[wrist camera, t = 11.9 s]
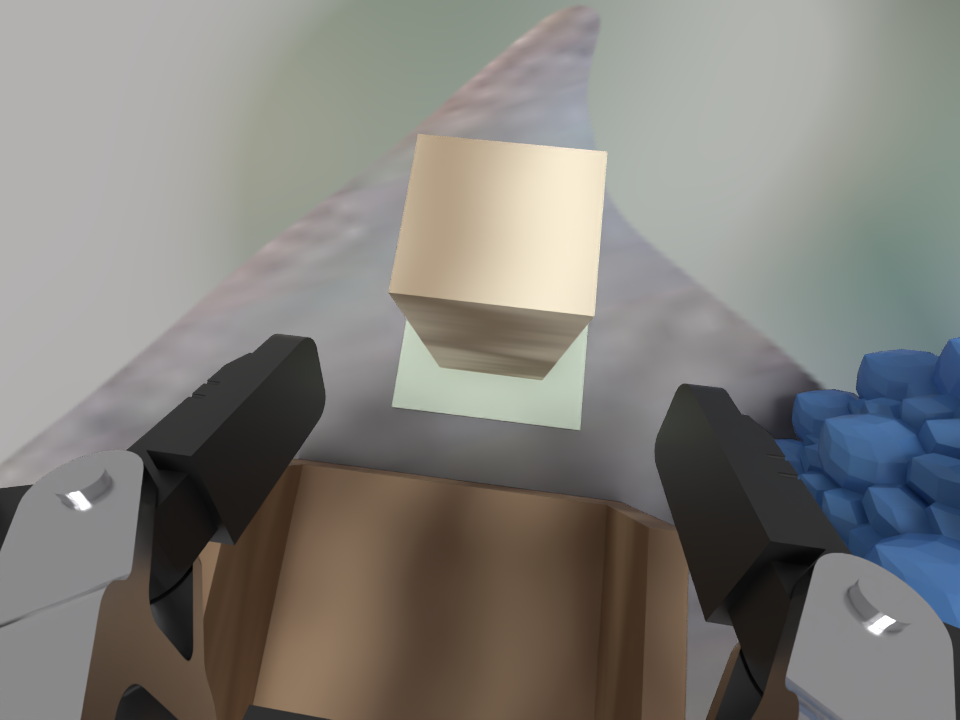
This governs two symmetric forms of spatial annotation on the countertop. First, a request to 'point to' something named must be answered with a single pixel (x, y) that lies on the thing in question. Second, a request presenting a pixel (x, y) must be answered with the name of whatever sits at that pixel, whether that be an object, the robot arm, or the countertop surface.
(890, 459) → the grapes
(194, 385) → the countertop surface
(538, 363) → the block
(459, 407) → the mat
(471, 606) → the wooden holder
